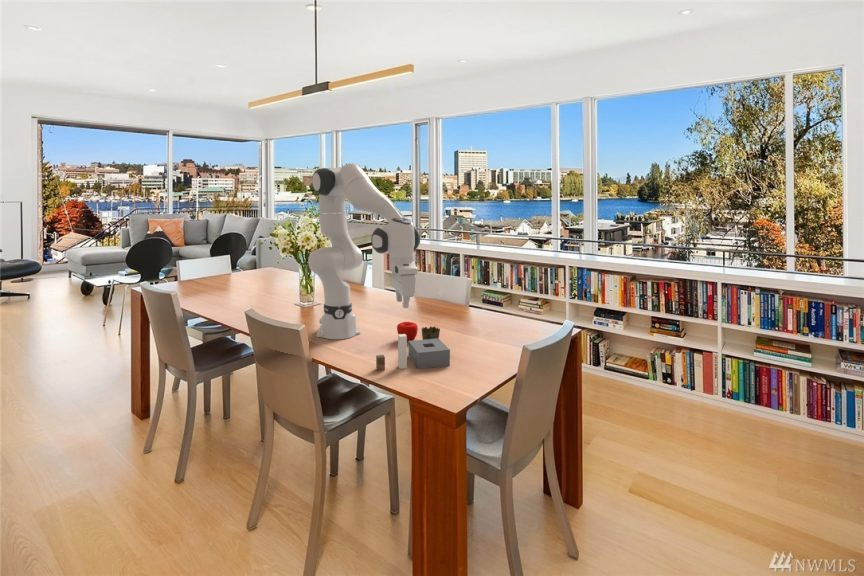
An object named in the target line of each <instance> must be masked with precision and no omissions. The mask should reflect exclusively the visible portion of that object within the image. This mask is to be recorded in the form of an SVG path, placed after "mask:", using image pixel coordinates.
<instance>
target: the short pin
mask: <svg viewBox="0 0 864 576" xmlns="http://www.w3.org/2000/svg"><path fill="white" fill-rule="evenodd" d="M375 356H376V357H375V358H376V360H375V361H376V368H377V369H376V371H377V370H378V371H377V372H383V371H382V370H385V371H386V357H385V354H376V355H375Z"/></svg>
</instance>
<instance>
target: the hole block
mask: <svg viewBox="0 0 864 576" xmlns="http://www.w3.org/2000/svg"><path fill="white" fill-rule="evenodd" d="M408 357H409V358H410V360H411V361H412V362H413V364H414V365H415V367H416V368H417V369H418V370H419V369H427V368H438V367H446V366H447V367H448V366H450V364H451V349H450V348H449V347H448V346H447V345H446V344H445V343H444V342H443V341H442V340H441V339H438V338H437V339H425V340H423V339H416V340H415V339H414V340H413V341H409V342H408Z"/></svg>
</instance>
